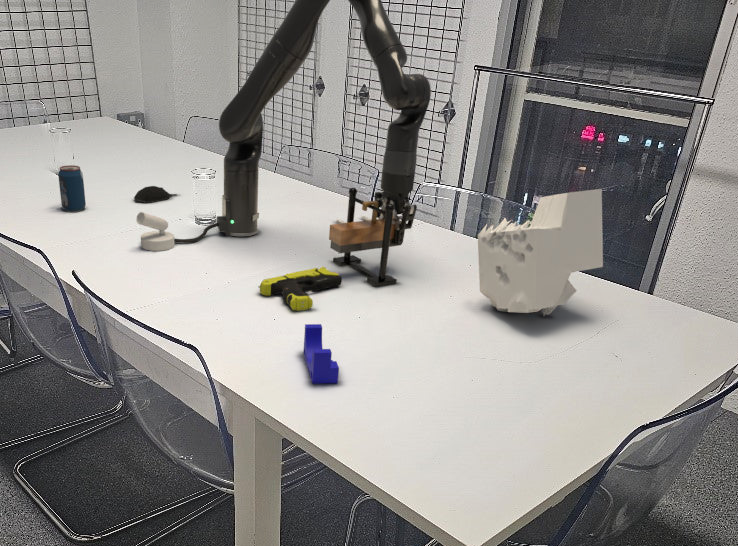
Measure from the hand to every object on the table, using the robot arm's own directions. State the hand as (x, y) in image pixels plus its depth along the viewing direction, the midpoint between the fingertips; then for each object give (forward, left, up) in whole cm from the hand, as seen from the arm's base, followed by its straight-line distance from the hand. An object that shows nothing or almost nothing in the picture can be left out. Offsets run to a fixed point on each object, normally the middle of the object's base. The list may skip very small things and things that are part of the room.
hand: (390, 240), depth 180 cm
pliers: (+5, +33, -7) cm, 34 cm away
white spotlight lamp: (-55, +24, -7) cm, 60 cm away
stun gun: (-24, -14, -7) cm, 28 cm away
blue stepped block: (-31, -49, -7) cm, 58 cm away
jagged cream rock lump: (+21, -29, -7) cm, 37 cm away
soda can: (-76, +61, -7) cm, 98 cm away
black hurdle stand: (-7, -2, -7) cm, 10 cm away
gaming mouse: (-51, +70, -7) cm, 87 cm away
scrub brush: (-7, -2, -1) cm, 7 cm away
